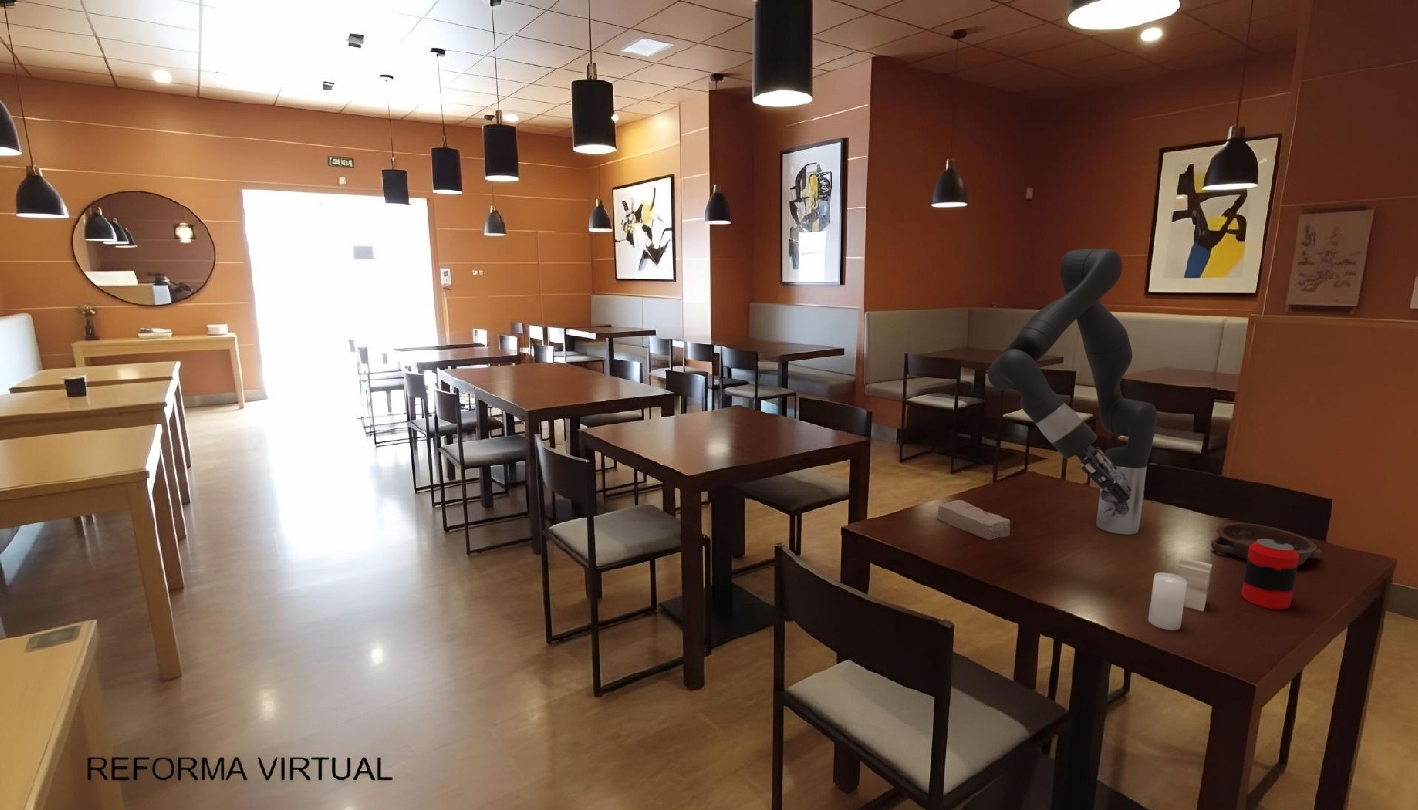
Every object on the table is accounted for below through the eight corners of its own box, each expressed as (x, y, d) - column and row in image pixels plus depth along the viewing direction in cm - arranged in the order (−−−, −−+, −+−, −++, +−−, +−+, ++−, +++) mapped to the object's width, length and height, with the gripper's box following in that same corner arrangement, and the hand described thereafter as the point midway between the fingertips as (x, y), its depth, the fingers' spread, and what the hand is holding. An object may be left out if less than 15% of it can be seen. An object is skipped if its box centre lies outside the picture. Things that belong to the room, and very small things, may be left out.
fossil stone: (1117, 523, 134) (1123, 474, 132) (1091, 514, 139) (1097, 467, 137) (1133, 518, 137) (1140, 470, 135) (1108, 510, 141) (1113, 464, 139)
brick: (1011, 535, 169) (1013, 517, 168) (988, 542, 165) (990, 523, 164) (957, 515, 183) (959, 498, 182) (935, 520, 179) (937, 503, 178)
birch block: (1175, 594, 138) (1181, 557, 136) (1206, 602, 135) (1212, 564, 133) (1172, 603, 134) (1178, 565, 133) (1203, 611, 131) (1209, 572, 129)
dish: (1189, 539, 167) (1192, 520, 166) (1287, 543, 164) (1290, 524, 163) (1233, 569, 150) (1237, 548, 149) (1344, 575, 147) (1348, 554, 146)
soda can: (1295, 603, 134) (1306, 546, 132) (1281, 614, 130) (1291, 555, 128) (1250, 589, 140) (1259, 534, 138) (1234, 598, 136) (1243, 542, 134)
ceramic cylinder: (1157, 614, 130) (1163, 570, 128) (1185, 625, 126) (1192, 580, 124) (1142, 620, 127) (1148, 575, 126) (1171, 632, 123) (1178, 586, 121)
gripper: (1077, 426, 132) (1142, 496, 128) (1085, 413, 144) (1145, 477, 140) (1045, 448, 136) (1107, 517, 132) (1054, 433, 148) (1112, 496, 144)
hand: (1126, 496), depth 136 cm, fingers closed on fossil stone, 4 cm apart
